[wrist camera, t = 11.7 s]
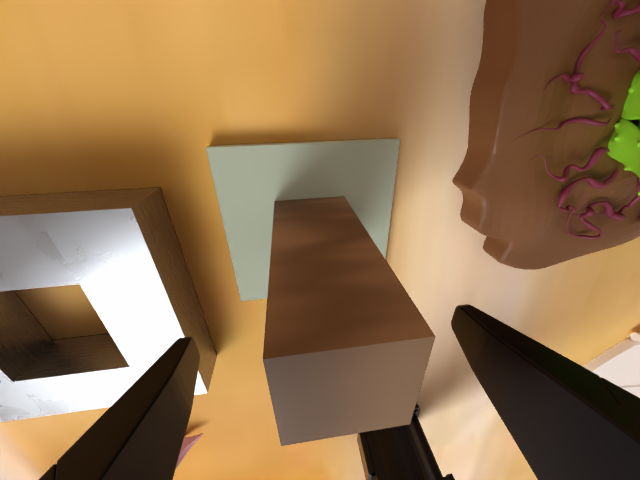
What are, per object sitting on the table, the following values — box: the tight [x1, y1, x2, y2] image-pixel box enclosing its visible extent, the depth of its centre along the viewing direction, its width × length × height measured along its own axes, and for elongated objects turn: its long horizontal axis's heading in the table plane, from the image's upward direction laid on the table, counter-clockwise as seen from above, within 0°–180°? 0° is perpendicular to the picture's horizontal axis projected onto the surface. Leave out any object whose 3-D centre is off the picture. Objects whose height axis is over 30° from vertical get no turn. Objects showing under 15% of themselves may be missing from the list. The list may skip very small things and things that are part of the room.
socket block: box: [0, 187, 217, 422], centre depth 15 cm, size 14×14×3 cm
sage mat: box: [206, 138, 400, 301], centre depth 16 cm, size 10×10×1 cm
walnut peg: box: [263, 196, 435, 446], centre depth 11 cm, size 4×4×10 cm
